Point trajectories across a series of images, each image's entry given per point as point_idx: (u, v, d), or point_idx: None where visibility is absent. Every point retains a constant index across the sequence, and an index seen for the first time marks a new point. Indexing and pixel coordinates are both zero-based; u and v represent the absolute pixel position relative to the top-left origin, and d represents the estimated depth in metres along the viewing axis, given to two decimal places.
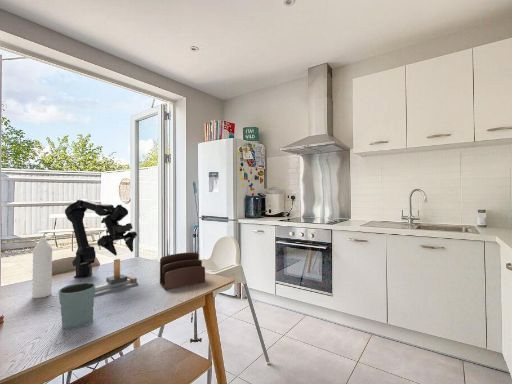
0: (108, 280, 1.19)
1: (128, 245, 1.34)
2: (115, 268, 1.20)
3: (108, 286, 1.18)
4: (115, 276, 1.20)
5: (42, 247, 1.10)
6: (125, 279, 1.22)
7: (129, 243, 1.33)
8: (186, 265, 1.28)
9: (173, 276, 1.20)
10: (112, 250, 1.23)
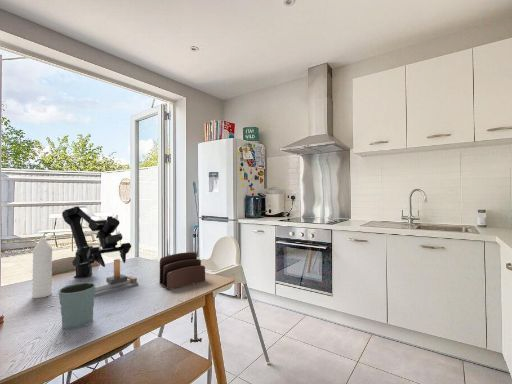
0: (108, 280, 1.19)
1: (122, 257, 1.29)
2: (115, 268, 1.20)
3: (108, 286, 1.18)
4: (115, 276, 1.20)
5: (42, 247, 1.10)
6: (125, 279, 1.22)
7: (122, 254, 1.29)
8: (186, 265, 1.29)
9: (175, 276, 1.20)
10: (100, 262, 1.21)
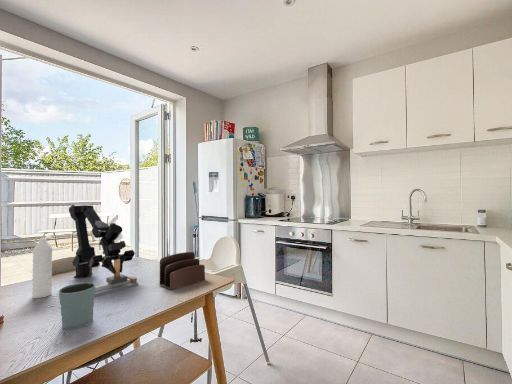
0: (108, 280, 1.19)
1: None
2: (115, 268, 1.20)
3: (108, 286, 1.18)
4: (115, 276, 1.20)
5: (42, 247, 1.10)
6: (125, 279, 1.22)
7: None
8: (186, 265, 1.29)
9: (177, 276, 1.21)
10: (111, 269, 1.20)
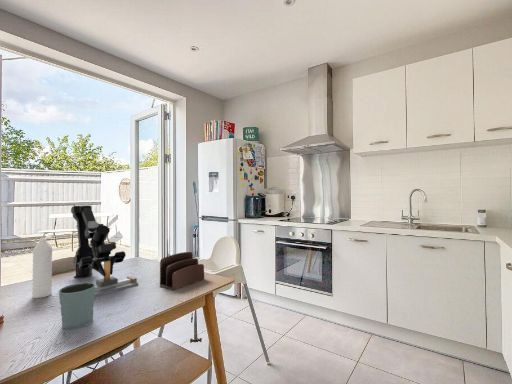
0: (98, 282, 1.16)
1: None
2: (105, 270, 1.17)
3: (108, 286, 1.18)
4: (105, 278, 1.17)
5: (42, 247, 1.10)
6: (115, 281, 1.18)
7: None
8: (186, 264, 1.30)
9: (179, 276, 1.21)
10: (100, 271, 1.17)
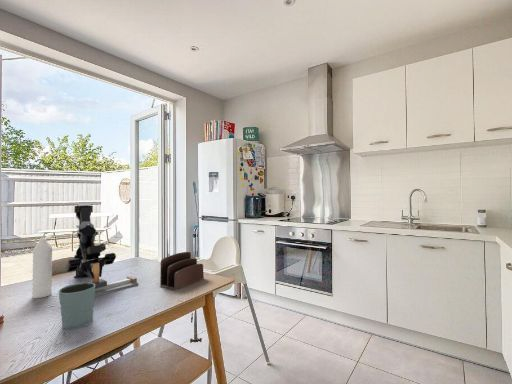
0: None
1: None
2: (94, 272, 1.14)
3: (108, 286, 1.18)
4: (94, 280, 1.14)
5: (42, 247, 1.10)
6: (104, 284, 1.15)
7: None
8: (185, 264, 1.30)
9: (180, 276, 1.21)
10: (89, 273, 1.13)
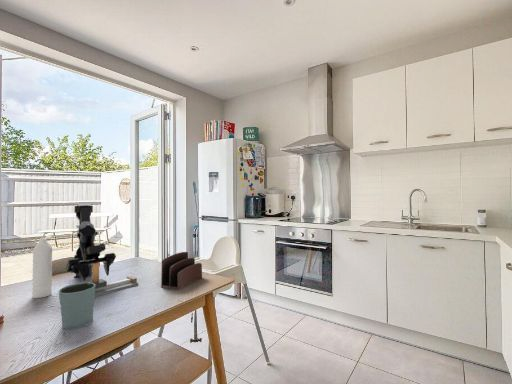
0: None
1: (105, 268, 1.20)
2: (93, 272, 1.14)
3: (108, 286, 1.18)
4: (93, 280, 1.13)
5: (42, 247, 1.10)
6: (104, 284, 1.15)
7: (105, 266, 1.20)
8: (185, 264, 1.30)
9: (183, 276, 1.21)
10: (80, 275, 1.11)
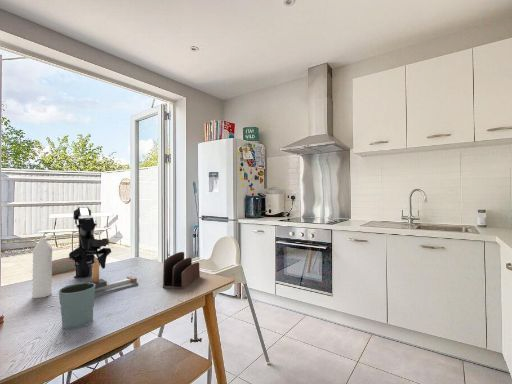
0: None
1: (100, 261, 1.29)
2: (93, 272, 1.14)
3: (108, 286, 1.18)
4: (93, 280, 1.13)
5: (42, 247, 1.10)
6: (104, 284, 1.15)
7: (102, 259, 1.29)
8: (184, 264, 1.31)
9: (185, 275, 1.22)
10: (83, 264, 1.18)
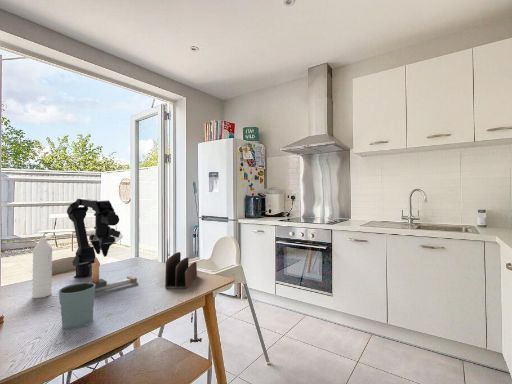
0: None
1: (96, 246, 1.34)
2: (93, 272, 1.14)
3: (108, 286, 1.18)
4: (93, 280, 1.13)
5: (42, 247, 1.10)
6: (104, 284, 1.15)
7: (98, 245, 1.35)
8: (183, 264, 1.31)
9: (188, 275, 1.23)
10: (106, 251, 1.28)
